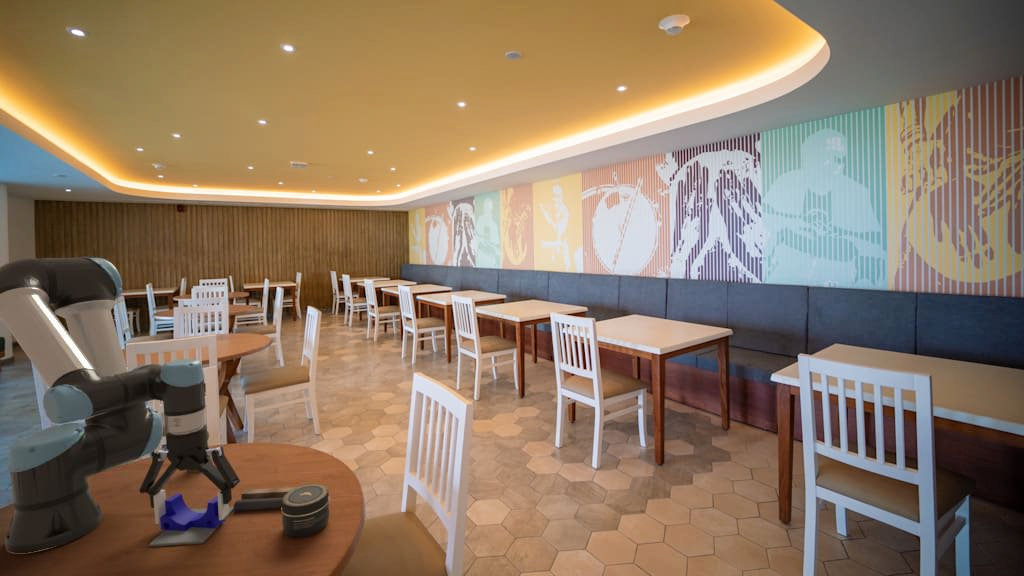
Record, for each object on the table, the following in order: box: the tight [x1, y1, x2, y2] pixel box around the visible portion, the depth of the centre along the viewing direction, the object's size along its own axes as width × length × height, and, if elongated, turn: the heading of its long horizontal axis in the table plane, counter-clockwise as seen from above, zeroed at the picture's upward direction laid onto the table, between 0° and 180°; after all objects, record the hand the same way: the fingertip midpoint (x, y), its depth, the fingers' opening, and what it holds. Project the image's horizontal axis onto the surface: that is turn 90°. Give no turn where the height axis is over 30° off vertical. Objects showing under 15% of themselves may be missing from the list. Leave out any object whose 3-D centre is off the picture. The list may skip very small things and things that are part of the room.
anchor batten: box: [240, 486, 298, 500], centre depth 113 cm, size 14×2×2 cm, turn 95°
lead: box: [233, 498, 282, 512], centre depth 109 cm, size 14×2×2 cm, turn 95°
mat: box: [148, 506, 234, 547], centre depth 102 cm, size 11×13×1 cm
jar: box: [280, 483, 330, 539], centre depth 102 cm, size 10×10×8 cm
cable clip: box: [160, 493, 226, 531], centre depth 101 cm, size 12×4×6 cm, turn 85°
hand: (193, 518), depth 101 cm, fingers open, 13 cm apart
